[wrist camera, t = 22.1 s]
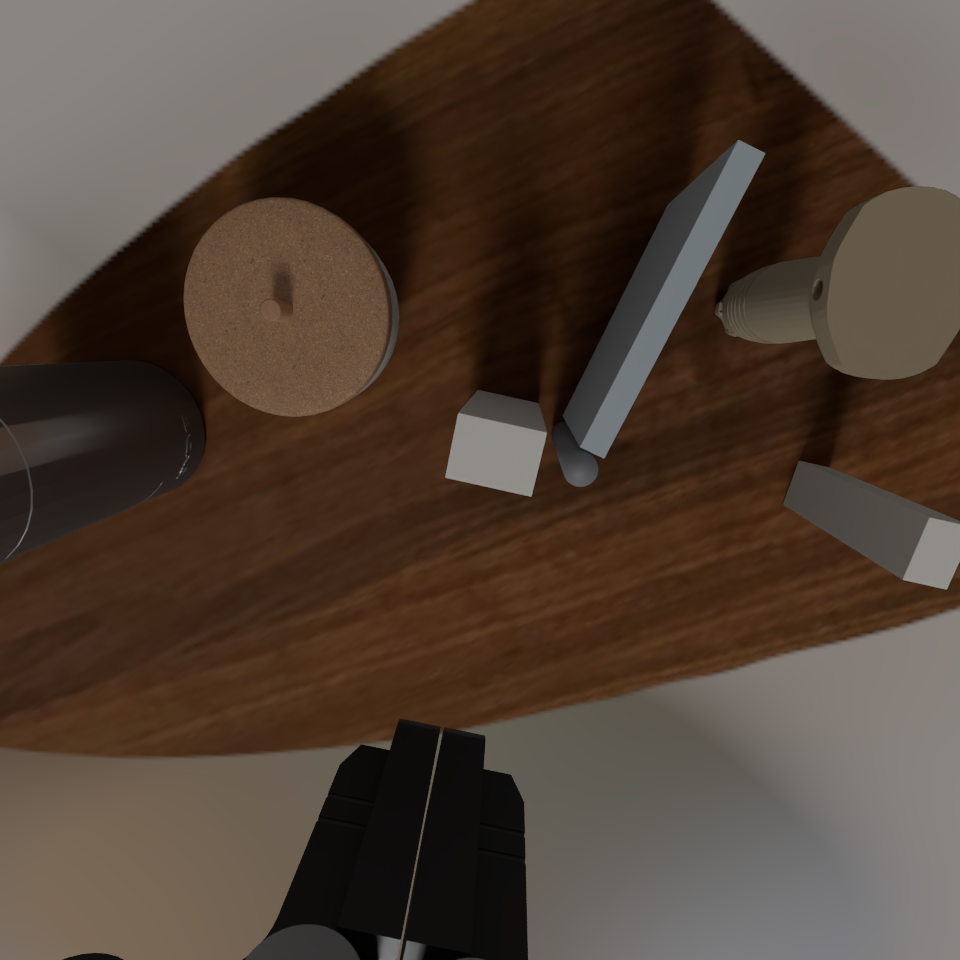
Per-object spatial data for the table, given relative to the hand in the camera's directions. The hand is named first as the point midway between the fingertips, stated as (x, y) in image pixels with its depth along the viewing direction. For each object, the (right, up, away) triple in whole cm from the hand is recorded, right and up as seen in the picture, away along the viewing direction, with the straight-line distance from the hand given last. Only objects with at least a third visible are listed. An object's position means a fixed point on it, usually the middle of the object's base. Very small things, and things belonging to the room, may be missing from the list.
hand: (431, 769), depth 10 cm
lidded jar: (-9, +15, +27) cm, 32 cm away
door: (+9, +14, +25) cm, 30 cm away
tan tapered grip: (+17, +15, +25) cm, 34 cm away
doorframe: (+12, +7, +27) cm, 30 cm away
